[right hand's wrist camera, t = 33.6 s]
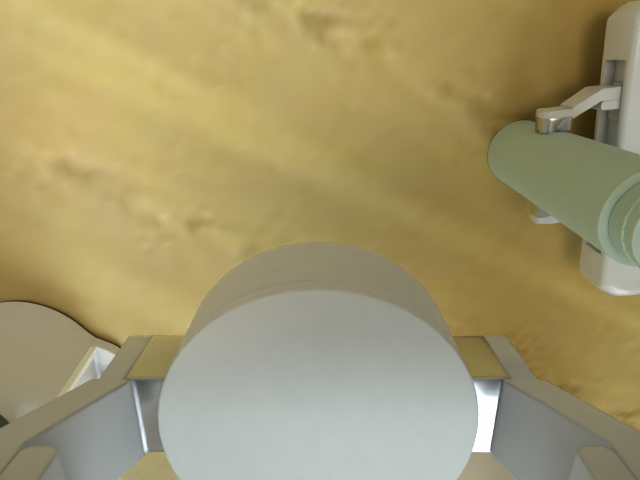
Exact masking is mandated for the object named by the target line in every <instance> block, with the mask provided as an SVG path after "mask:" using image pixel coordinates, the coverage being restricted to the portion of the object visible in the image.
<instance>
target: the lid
mask: <svg viewBox="0 0 640 480" xmlns="http://www.w3.org/2000/svg"><path fill="white" fill-rule="evenodd" d="M478 421H479V407H478V398H477V393H476V389H475V386H474V382H473V379H472V376H471V374H470V372H469V370H468V368H467V366H466V364H465V362H464V359H463V357H462V355H461V353H460V351H459V349H458V347H457V345H456V343H455V341H454V339H453V337H452V335H451V333H450V331H449V329H448V327H447V325H446V323H445V321H444V319H443V317H442V315H441V313H440V311H439V309H438V307H437V305H436V303H435V302H434V300H433V299H432V297H431V296H430V294H429V293H428V291H427V290H426V289H425V288H424V287H423V286H422V285H421V283H420V282H419V281H418V280H417V279H416V278H415V277H413V276H412V275H411V274H410V273H409V272H407V271H406V270H405V269H404V268H402V267H401V266H399V265H397V264H396V263H394V262H393V261H391V260H389V259H387V258H385V257H383V256H381V255H379V254H376V253H374V252H372V251H369V250H365V249H362V248H359V247H356V246H351V245H345V244H339V243H329V242H309V243H297V244H292V245H287V246H282V247H278V248H275V249H272V250H269V251H266V252H263V253H260V254H258V255H256V256H254V257H252V258H250V259H248V260H246V261H244V262H243V263H241V264H240V265H238V266H237V267H235V268H234V269H232V270H231V271H230V272H228V273H227V274H226V275H225V276H224V277H223V278H222V279H220V280H219V281H218V282H217V283H216V285H215V286H214V287H213V288H212V289H211V290H210V292H209V293H208V294H207V296H206V297H205V299H204V300H203V302H202V304H201V305H200V307H199V309H198V311H197V313H196V315H195V317H194V319H193V321H192V323H191V325H190V327H189V329H188V331H187V333H186V335H185V337H184V339H183V341H182V343H181V345H180V347H179V349H178V351H177V353H176V355H175V357H174V359H173V361H172V363H171V365H170V367H169V369H168V371H167V374H166V376H165V378H164V381H163V384H162V388H161V392H160V396H159V404H158V424H159V434H160V437H161V441H162V445H163V449H164V451H165V454H166V456H167V458H168V460H169V463H170V465H171V466H172V468H173V470H174V471H175V473H176V474H177V476H178V478H179V479H180V480H457V479H458V477H459V476H460V474H461V473H462V471H463V469H464V468H465V466H466V464H467V462H468V460H469V458H470V455H471V453H472V450H473V448H474V445H475V441H476V436H477V432H478Z"/></svg>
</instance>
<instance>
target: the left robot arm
mask: <svg viewBox="0 0 640 480" xmlns="http://www.w3.org/2000/svg"><path fill="white" fill-rule="evenodd" d="M590 108H593V109H597V114H596V123H595V132H594V140H595V141H598V142H602V143H605V144H608V145H611V146H614V147H618V148H621V149H624V150H627V151H631V152H634V153H637V154H640V0H637V1H632V2H628V3H625V4H623V5H622V6H621V7H620V8H619V9H617V10H616V11H615V12H614V13H613V14H612V15H611V16H610V17H609V18H608V20H607V25H606V34H605V43H604V52H603V61H602V70H601V79H600V85H597V86H589V87H585V88H583V89H582V90H580V91H579V92H577V93H576V94H575V95H573V96H572V97H570V98H569V99H567V100H566V101H565V102H563V103H562V104H560V106H558V107H549V108H540V109H537V110H536V121H535V131H537V132H538V131H539V132H540V133H544V134H545V133H554V132H556V131H559V132H567V131H571V124H572V119H573V118H575V117H577V116H578V115H580V114H581V113H583V112H585V111H586V110H588V109H590ZM529 218H530V219H531V220H532V221H533V222H534V223H536V224H552V223H561V222H559V221H558V220H556V219H555V218H553V217H552V216H551V215H549V214H548V213H546V212H545V211H543V210H542V209H541V208H539V207H538V206H536V205H535V204H534V203H532V202H531V204H530V213H529ZM579 268H580V272H581V273H582V274H583V275H584V276H585V277H586V278H587V279H588V280H589V281H590V282H591V283H592V284H594V285H595V286H596V287H597V288H599V289H600V290H602V291H604V292H605V293H607V294H610V295H615V296H624V295H636V294H640V268H638V267H634V266H627V265H624V264H621V263H619V262H616V261H615V260H613V259H612V258H610V257H609V256H607V255H606V254H604V253H603V252H602V251H600V250H599V249H597V248H596V247H595V246H593V245H592V244H590V243H589V242H587V241H586V240H585V239H583V240H582V249H581V258H580V267H579ZM490 453H491V452H472V453H471V455H470V458H469V460H468V462H467V464H466V466H465V468H464V469H463V471H462V473H461V474H460V476H459V477H458V479H457V480H517V479H516V478H515V477H514V476H513V475H512V474H511V473H510V472H509V471H508V470H507V469H506V468H505V467H504V466H503V465H501V464H500V463H499V462H498V461H497V460H496V459H495V458H494V457H493V456H492V455H491V454H490Z"/></svg>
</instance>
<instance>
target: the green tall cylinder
mask: <svg viewBox="0 0 640 480" xmlns="http://www.w3.org/2000/svg"><path fill="white" fill-rule="evenodd" d="M488 164H489V167H490V170H491V171H492V173H493V174H494V175H495V176H496V177H497V178H498V179H500V180H501V181H502V182H504V183H505V184H507V185H508V186H509V187H511V188H512V189H514V190H515V191H517V192H518V193H519V194H521V195H522V196H524V197H525V198H526V199H528V200H529V201H531V202H532V203H534V204H535V205H536V206H538V207H539V208H541V209H542V210H543V211H545V212H546V213H548V214H549V215H551V216H552V217H553V218H555V219H556V220H558V221H559V222H561V223H562V224H563V225H565V226H566V227H568V228H569V229H570V230H572V231H573V232H575V233H576V234H578V235H579V236H580V237H582V238H583V239H585V240H586V241H587V242H589V243H590V244H592V245H593V246H595V247H596V248H597V249H599V250H600V251H602V252H603V253H604V254H606V255H607V256H609V257H610V258H612V259H613V260H615V261H616V262H619V263H621V264H624V265H627V266H634V267H638V268H640V154H637V153H634V152H631V151H627V150H624V149H621V148H618V147H614V146H611V145H608V144H605V143H602V142H598V141H595V140H592V139H589V138H585V137H582V136H579V135H576V134H572V133H569V132H559V131H556V132H554V133H545V134H544V133H540V132H539V131H538V132H537V131H535V122H533V121H529V120H521V121H516V122H513V123H510V124H508V125H506V126H505V127H504V128H502V129H501V130H500V131H499V132H498V133H497V134H496V135H495V137H494V138H493V140H492V141H491V143H490V146H489V149H488Z"/></svg>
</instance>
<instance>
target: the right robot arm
mask: <svg viewBox="0 0 640 480" xmlns="http://www.w3.org/2000/svg"><path fill="white" fill-rule="evenodd" d="M184 337H185V336H164V335H155V336H153V335H133V336H130V337H128V338H127V340H126V341H125V343H124V344H123V345H122V347H121V348H119V347H117V346H115V345H113V344H111V343H109V342H106V341H104V340H101V339H98V338H96V337H94V336H93V335H91V334H90V333H88V332H87V331H86V330H84V329H83V328H82V327H81V326H80V325H78V324H77V323H76V322H74V321H73V320H71V319H70V318H68V317H67V316H65V315H63V314H61V313H59V312H57V311H55V310H53V309H50V308H47V307H45V306H41V305H38V304H33V303H27V302H2V303H0V480H118V479H119V478H120V477H121V476H122V475H123V474H124V473H125V472H127V471H128V470H129V469H130V468H131V467H132V466H133V465H134V464H135V463H136V462H137V461H138V460H139V459H141V458H142V457H143V456H144V455H145V452H165V451H164V449H163V445H162V441H161V437H160V434H159V424H158V404H159V396H160V392H161V388H162V384H163V381H164V378H165V376H166V374H167V371H168V369H169V367H170V365H171V363H172V361H173V359H174V357H175V355H176V353H177V351H178V349H179V347H180V345H181V343H182V341H183V339H184ZM453 339H454V341H455V343H456V345H457V347H458V349H459V351H460V353H461V355H462V357H463V359H464V362H465V364H466V366H467V368H468V370H469V372H470V374H471V376H472V379H473V382H474V386H475V389H476V393H477V398H478V407H479V421H478V432H477V436H476V441H475V445H474V448H473V450H472V452H491V453H490V454H491V455H492V456H493V457H494V458H495V459H496V460H497V461H498V462H499V463H500V464H501V465H503V466H504V467H505V468H506V469H507V470H508V471H509V472H510V473H511V474H512V475H513V476H514V477H515V478H516V479H517V480H640V431H638V430H636V429H634V428H632V427H630V426H629V425H627V424H625V423H623V422H621V421H619V420H618V419H616V418H614V417H612V416H610V415H608V414H607V413H605V412H603V411H601V410H599V409H597V408H596V407H594V406H592V405H590V404H588V403H586V402H585V401H583V400H581V399H579V398H577V397H575V396H574V395H572V394H570V393H568V392H566V391H564V390H563V389H561V388H559V387H557V386H555V385H553V384H552V383H550V382H548V381H546V380H544V379H536V377H535V376H534V375H533V373H532V372H531V370H530V369H529V367H528V366H527V365H526V363H525V362H524V360H523V359H522V358H521V356H520V355H519V353H518V352H517V350H516V349H515V348H514V346H513V345H512V343H511V342H510V341H509V339H508V338H507V337H506V336H504V335H486V336H454V337H453Z"/></svg>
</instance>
